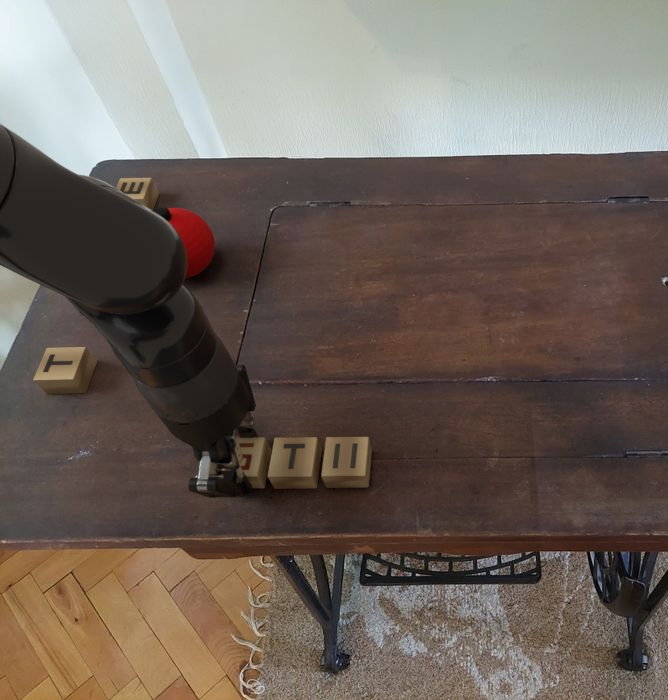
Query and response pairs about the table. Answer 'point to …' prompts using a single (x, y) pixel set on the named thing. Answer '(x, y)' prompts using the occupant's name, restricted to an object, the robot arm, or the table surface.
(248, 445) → the tile
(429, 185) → the table surface
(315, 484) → the near tile
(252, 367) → the table surface
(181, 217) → the ornament
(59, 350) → the letter t tile
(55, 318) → the table surface
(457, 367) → the table surface
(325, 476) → the near tile
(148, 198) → the far tile
